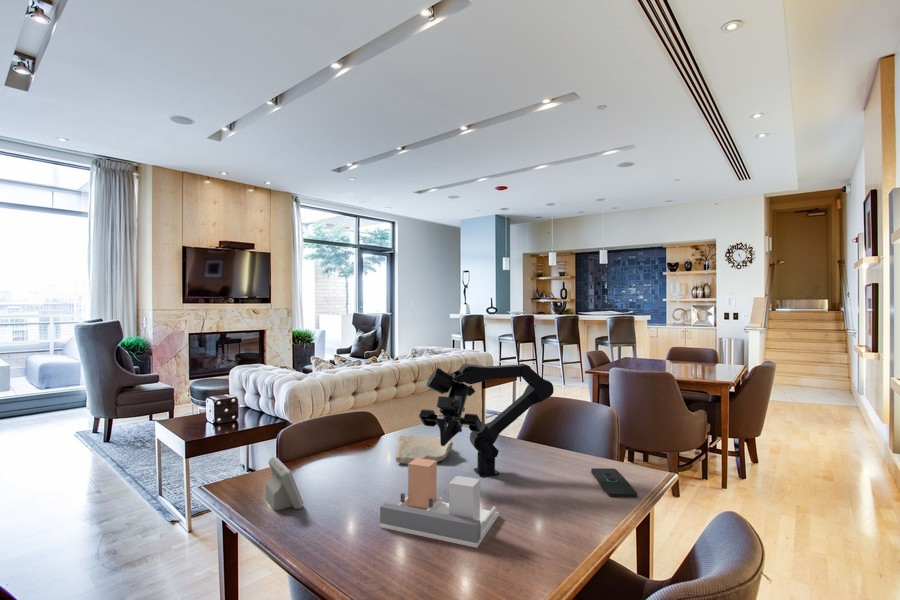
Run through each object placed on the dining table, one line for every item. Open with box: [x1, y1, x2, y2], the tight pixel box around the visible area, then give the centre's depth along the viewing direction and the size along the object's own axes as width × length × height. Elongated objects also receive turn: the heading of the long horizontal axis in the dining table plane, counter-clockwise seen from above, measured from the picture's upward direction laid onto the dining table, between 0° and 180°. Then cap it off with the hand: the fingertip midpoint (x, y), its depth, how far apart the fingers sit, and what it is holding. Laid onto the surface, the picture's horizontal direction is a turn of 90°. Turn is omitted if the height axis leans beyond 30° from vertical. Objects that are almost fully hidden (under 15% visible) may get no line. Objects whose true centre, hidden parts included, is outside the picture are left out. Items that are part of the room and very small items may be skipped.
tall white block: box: [448, 475, 481, 521], centre depth 114 cm, size 5×6×11 cm
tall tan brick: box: [407, 458, 438, 509], centre depth 127 cm, size 5×6×11 cm
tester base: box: [379, 493, 500, 548], centre depth 119 cm, size 17×25×5 cm
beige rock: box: [395, 434, 454, 465], centre depth 172 cm, size 24×8×20 cm
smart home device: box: [590, 467, 638, 499], centre depth 144 cm, size 8×2×20 cm
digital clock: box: [265, 456, 304, 511], centre depth 131 cm, size 16×9×11 cm, turn 23°
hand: (442, 445), depth 139 cm, fingers closed
